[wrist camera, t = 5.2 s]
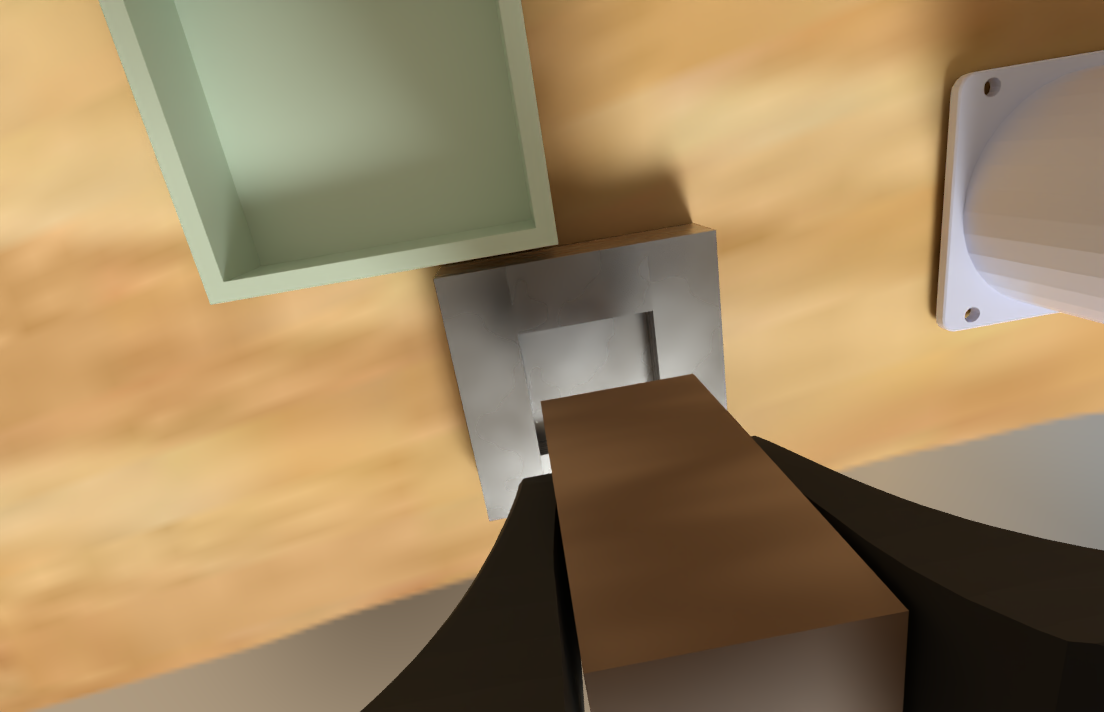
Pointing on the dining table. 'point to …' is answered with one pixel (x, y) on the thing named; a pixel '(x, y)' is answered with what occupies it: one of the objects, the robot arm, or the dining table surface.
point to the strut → (709, 566)
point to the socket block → (574, 336)
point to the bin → (338, 134)
